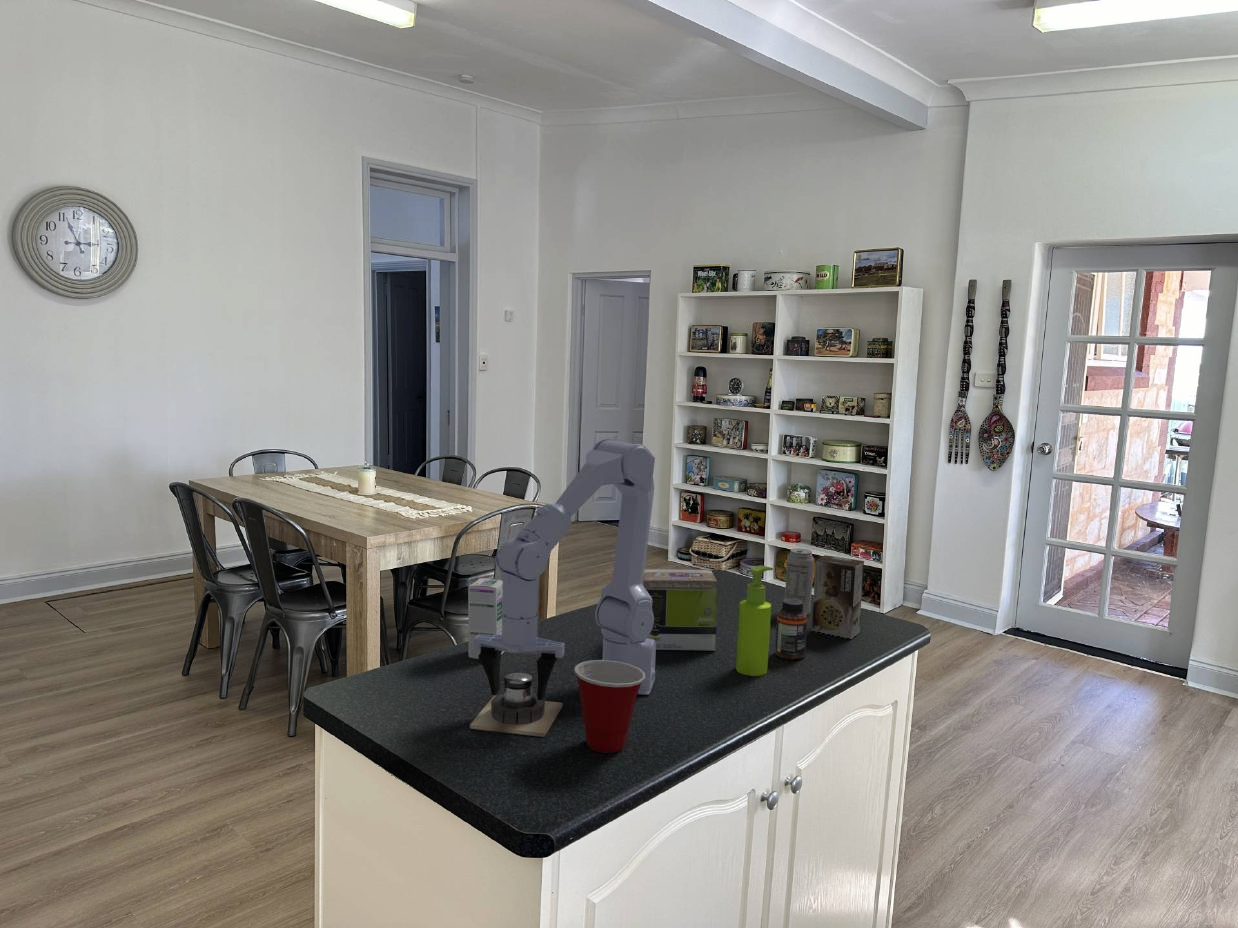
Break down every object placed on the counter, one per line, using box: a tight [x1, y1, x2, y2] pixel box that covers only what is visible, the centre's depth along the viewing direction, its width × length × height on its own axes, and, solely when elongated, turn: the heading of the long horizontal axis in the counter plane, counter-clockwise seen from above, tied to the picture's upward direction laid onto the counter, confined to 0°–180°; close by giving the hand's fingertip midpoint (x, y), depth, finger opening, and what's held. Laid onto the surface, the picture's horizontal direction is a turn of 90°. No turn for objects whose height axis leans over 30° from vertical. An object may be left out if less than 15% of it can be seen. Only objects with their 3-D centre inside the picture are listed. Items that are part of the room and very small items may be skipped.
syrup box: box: [467, 577, 506, 660], centre depth 170 cm, size 6×6×14 cm
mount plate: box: [469, 692, 563, 738], centre depth 143 cm, size 12×12×3 cm
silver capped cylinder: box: [503, 672, 533, 710], centre depth 143 cm, size 4×4×6 cm
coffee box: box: [811, 554, 865, 640], centre depth 191 cm, size 9×6×16 cm
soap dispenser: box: [735, 565, 774, 677], centre depth 167 cm, size 6×7×20 cm
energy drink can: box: [784, 548, 815, 616], centre depth 204 cm, size 6×6×15 cm
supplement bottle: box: [774, 598, 808, 661], centre depth 176 cm, size 6×6×11 cm
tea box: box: [643, 568, 719, 652], centre depth 180 cm, size 15×10×15 cm, turn 92°
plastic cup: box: [574, 659, 645, 754], centre depth 134 cm, size 11×11×12 cm
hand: (518, 695), depth 143 cm, fingers open, 7 cm apart
